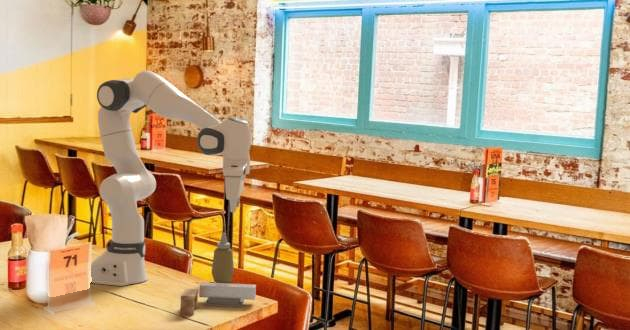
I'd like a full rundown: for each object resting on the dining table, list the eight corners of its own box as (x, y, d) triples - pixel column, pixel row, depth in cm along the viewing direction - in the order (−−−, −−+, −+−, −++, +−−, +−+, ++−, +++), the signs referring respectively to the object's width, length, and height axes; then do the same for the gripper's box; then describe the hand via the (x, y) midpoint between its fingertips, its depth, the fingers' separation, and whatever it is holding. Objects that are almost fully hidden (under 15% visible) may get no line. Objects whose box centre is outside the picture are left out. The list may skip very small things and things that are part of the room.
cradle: (204, 305, 241) (204, 299, 241) (208, 298, 249) (208, 292, 249) (241, 307, 241) (241, 301, 241) (244, 300, 249) (244, 294, 249)
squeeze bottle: (229, 286, 265) (231, 236, 263) (208, 283, 267) (209, 234, 265) (236, 280, 273) (238, 232, 271) (215, 278, 275) (216, 230, 273)
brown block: (180, 314, 231) (180, 295, 231) (184, 306, 239) (185, 288, 238) (193, 315, 231) (193, 296, 231) (197, 307, 239) (197, 289, 238)
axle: (199, 297, 243) (199, 285, 243) (201, 293, 247) (201, 282, 246) (254, 299, 243) (254, 287, 242) (255, 296, 247) (255, 284, 246)
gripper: (230, 163, 253) (229, 203, 255) (222, 171, 233) (221, 214, 235) (248, 164, 253) (247, 204, 255) (242, 171, 233) (241, 215, 235)
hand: (234, 209), depth 245 cm, fingers open, 8 cm apart
